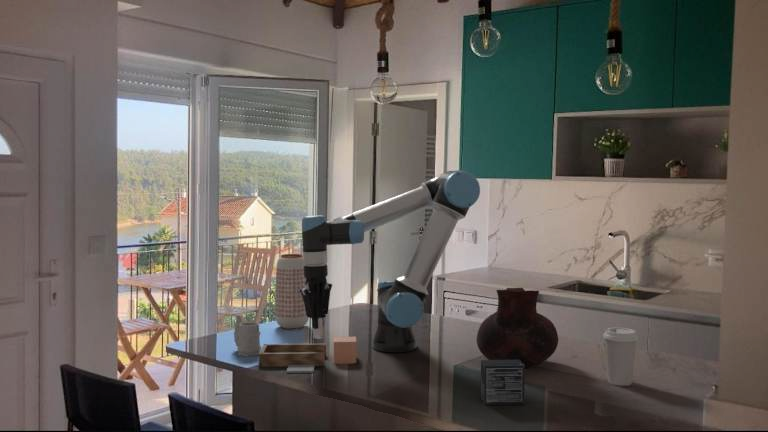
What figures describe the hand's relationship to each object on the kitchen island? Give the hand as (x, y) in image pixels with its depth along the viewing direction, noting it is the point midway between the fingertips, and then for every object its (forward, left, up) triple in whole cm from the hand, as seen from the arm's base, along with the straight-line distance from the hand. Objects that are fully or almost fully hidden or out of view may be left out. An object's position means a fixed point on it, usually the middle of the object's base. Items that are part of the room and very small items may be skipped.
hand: (318, 338), depth 221 cm
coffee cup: (-87, +27, -8) cm, 91 cm away
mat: (+5, +10, -7) cm, 13 cm away
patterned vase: (+13, -49, -8) cm, 52 cm away
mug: (+25, -11, -8) cm, 28 cm away
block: (-8, 0, -7) cm, 11 cm away
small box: (-50, +42, -8) cm, 66 cm away
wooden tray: (+7, 0, -7) cm, 10 cm away
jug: (-62, +7, -8) cm, 63 cm away
